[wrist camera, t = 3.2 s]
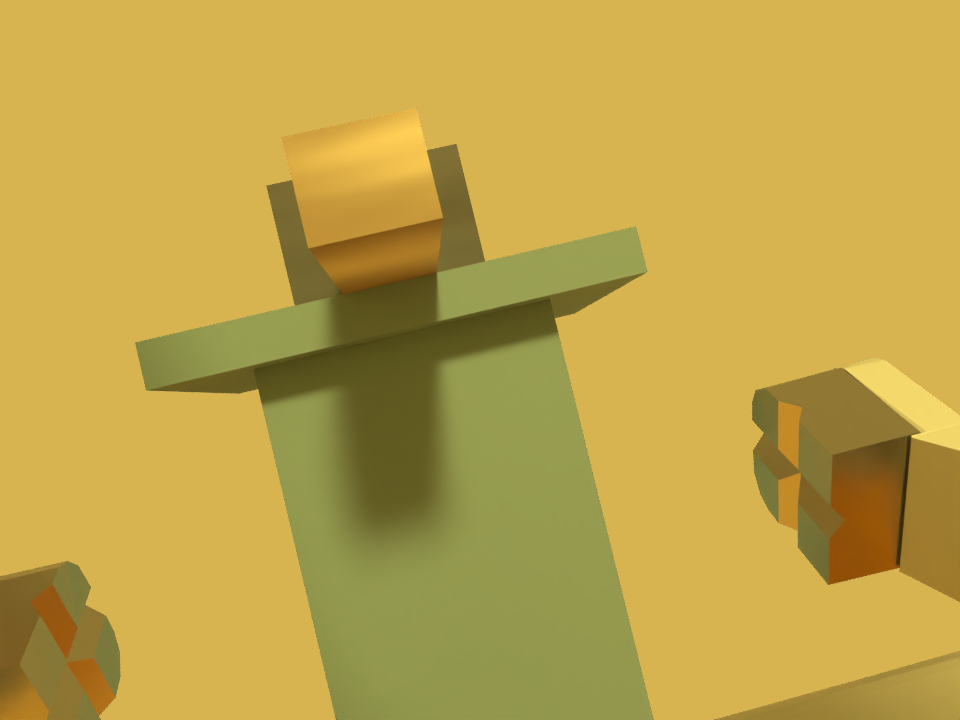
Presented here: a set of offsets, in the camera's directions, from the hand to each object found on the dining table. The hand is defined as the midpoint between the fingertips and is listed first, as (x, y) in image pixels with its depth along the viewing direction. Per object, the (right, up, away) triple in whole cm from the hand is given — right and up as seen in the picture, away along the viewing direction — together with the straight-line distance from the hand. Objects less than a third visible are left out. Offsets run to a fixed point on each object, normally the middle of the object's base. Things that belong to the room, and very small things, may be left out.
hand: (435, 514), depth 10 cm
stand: (+3, -21, +22) cm, 31 cm away
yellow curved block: (-2, +4, +17) cm, 18 cm away
